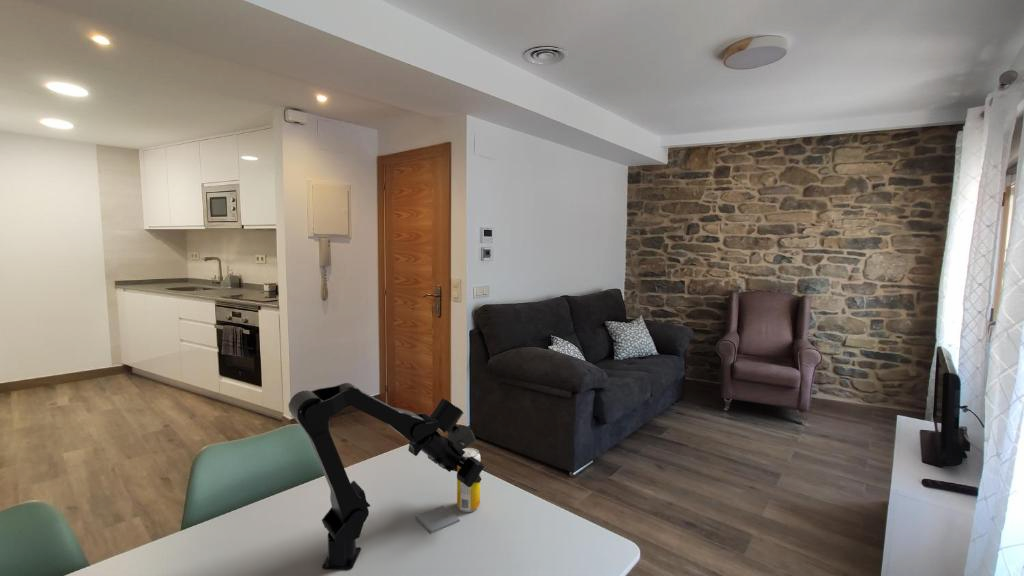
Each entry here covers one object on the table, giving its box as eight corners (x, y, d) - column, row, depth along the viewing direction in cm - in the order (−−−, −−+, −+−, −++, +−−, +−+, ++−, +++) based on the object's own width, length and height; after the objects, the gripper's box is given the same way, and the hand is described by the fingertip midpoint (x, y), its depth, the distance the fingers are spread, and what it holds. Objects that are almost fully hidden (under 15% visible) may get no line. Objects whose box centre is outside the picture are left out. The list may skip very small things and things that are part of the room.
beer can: (481, 501, 126) (482, 448, 125) (477, 514, 120) (478, 458, 119) (459, 499, 127) (459, 446, 125) (454, 512, 121) (454, 456, 119)
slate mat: (431, 533, 112) (431, 531, 112) (415, 518, 118) (415, 516, 118) (459, 521, 117) (459, 519, 117) (443, 507, 123) (443, 505, 123)
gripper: (477, 430, 111) (512, 462, 119) (437, 409, 126) (471, 438, 134) (449, 472, 107) (487, 501, 115) (411, 444, 121) (447, 472, 129)
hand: (473, 476), depth 123 cm, fingers closed on beer can, 6 cm apart
